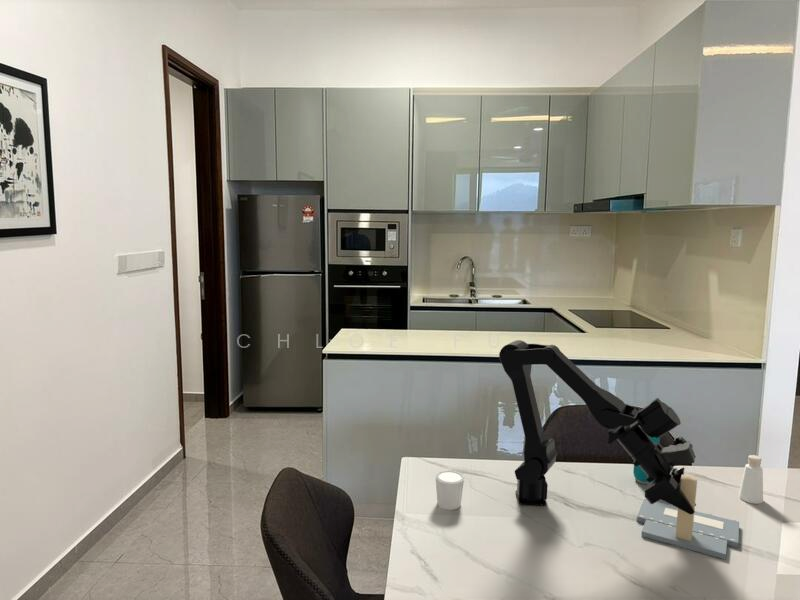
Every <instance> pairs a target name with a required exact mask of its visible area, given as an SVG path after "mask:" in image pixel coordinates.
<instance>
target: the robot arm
mask: <svg viewBox="0 0 800 600" xmlns="http://www.w3.org/2000/svg"><path fill="white" fill-rule="evenodd" d="M498 355H499V357H498V358H499V361H500V363H501V366H502V369H503V371H504V372H505V374H506V376H507V377H508V378H509V379H510V381H511V383H512V388H513V391H514V396H515V400H516V406H517V408H518V412H519V416H520V421H521V425H522V430H523V434H524V446H523V460H524V461H522V463H521V464H520V465H519V466H518V467H517V468H516V469H515V470H514V474H515V475H514V476H515V478H516V480H517V481H516V482H517V483H516V486H517V487H516V490H515V497H516V499H517V502H518V505H520V506H521V505H524V506H525V505H526V506H547V502H546V500H548V482H547V480H546V476H545V475H546V474H547V473H548V471H550V469H551V468H552V467H553V466H554V464H555V463H556V459H557V455H558V454H559V452H558V450H557V448H556V443H555V439H554V438H548V436H547V435H546V434H545V432H544V429H543V424H542V419H541V416H540V412H539V407H538V403H537V399H536V395H535V390H534V385H533V381H532V376H531V373H532V366H533V365H540V364H541V365H546V366H547V367H548V368H550V370H551V371H552V372H554V373H555V374H556V375H557V376H558V377H559V379H561V381H563V382H564V383H565V384H566V385H567V386H568V387H569V388H570V389H571V390H572V391H573V392H574V393H575V394H577V395H578V397H580V398H581V399H582V401H583V402H584V404H585V405H586V407H587V409H588V411H589V414H590V415H591V416H592V417H593V418H594V420H595V421H596V422H597V424H598V425H599V426H600V427H602V428H603V429H607V430H608V429H609V430H608V431H607V435H608V438H607V444H608V445H611V444H613V443H614V442H616V441H618V442H619V444H620V446H622V447H623V449H624V450H625V451H626V453H628V455H629V456H630V457H631V458H632V460H633V462H632V464H633V466H634V465H635V466H636V467H637V466H638V465H639V466H640V468H641V469H642V470H643V471H644V472H645V474H646V475H647V478H646V480H647V481H648V482H649V484H646V488H645V490H644V497H645V498H644V499H647V500H648V501H649V503H650V504H654V503H655V502H659V501H660V500H661V501H663V502H665V503H666V504H667V503H668V505H672V506H675V507H677V508H679V509H681V510H683V511H685V512H687V513H689V514H693V513H694V512H695V511H696V510H695V511H694V509H693V507H692V506H691V504H690V503H689V501H688V500H687V498H686V497H685V495H684V494H683V492H682V491H681V476H682V474H683V475H685V467H684V466H683V467H682V468H680V469H678V468H677V466H682V465H687V466H689V465H692V464H694V463H695V461H696V457H697V456H696V453H695V451H694V449H693V444H692V443H691V442H690V441H688V440H686V439H685V438H684V437H683V436H677V437H674V440H673V444H669V446H666V447H664V446H663V445H662V443H659V444H658V442H657V443H654V442H653V441H652V440H651V439H650V438H649V436H650V437H652V438H653V437H656V438H660V439H661V437H663V436H664V435H666V434H667V433H669V432H671V431H672V430H674V429H675V428H676V427H678V426H680V425H681V423H682V422H681V419H680V417H679V416H678V414H677V412H675V410H674V409H673V408H672V407H671V406H669V405H668V404H666V403H665V402H663V401H661V399H660V398H659V397H656V398H655V399H654V400H652V401H651V402H650V403H649V404H648V405H646V406H645V407H644V408H639V407H636V406H633V405H630V404H627V403H625V402H624V401H623V400H622V399H620V398H619V397H617V396H616V395H615V394H614V393H612V392H610V391H608V390H606V389H604V388H602V387H600V386H598V385H597V384H596V383H595V382H594V381H593V380H592V379H591V378H590V377H588V375H586V374H585V373H584V372H583V370H581V369H580V368H579V367H578V366H577V365H576V364H575V363H574V362H572V360H570V359H569V357H567V356H566V355H565V354H564V353H563V352H562V351H561V350H560V348H559V347H558V346H557V345H555V344H539V343H527V342H525V341H524V340H521V339H520V340H519V339H518V340H517V339H516V340H514V341H512V342H510V343H508V344H505V345H504V346H503V347H501V349H500V351H499V353H498ZM653 480H654V481H653ZM652 481H653V482H652ZM650 482H651V483H650ZM696 506H697V503H696V502H695V507H696Z"/></svg>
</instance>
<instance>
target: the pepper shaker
mask: <svg viewBox="0 0 800 600" xmlns="http://www.w3.org/2000/svg"><path fill="white" fill-rule="evenodd" d="M747 458H748V460H747V461H748V462H747V463H746V464H745V465H744V470H743V472H742V473H743V474H742V478H741V481H740V487H739V489H738V490H739V491H738V498H739V499H740V500H742V501H744V502H746V503H748V504H755V505H759V504H762V503H764V471H763V468H762V466H761V465H762V457H760V456H759V455H756V454H749V455H748V457H747Z"/></svg>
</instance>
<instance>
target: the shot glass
mask: <svg viewBox="0 0 800 600" xmlns="http://www.w3.org/2000/svg"><path fill="white" fill-rule="evenodd" d="M464 483H465V476H464V474H462V473H460V472H458V471H454V470H442V471H439V472H438V473H436V475H435V488H436V501H437V504H436V505H438V507H439V508H440V509H444V510H448V511H452V510H457V509H459V508H460V507H461V506H462V500H463V499H462V498H463V489H464Z"/></svg>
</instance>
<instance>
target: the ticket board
mask: <svg viewBox="0 0 800 600" xmlns="http://www.w3.org/2000/svg"><path fill="white" fill-rule="evenodd" d="M677 513H678V508H677V507H675V506H673V505H671V504H669V503H668V504H667V503H664V502H659V501H657V502H655V503H654V504H650V503H649V501H648V500H647V499H646V498H644V499H643V501H642V503H641V505H640V508H639V511H638V513H637V515H636V522H638V523H643V524H645V521H646V519H647V520H651V521H655V522H658V523H662V524H666V525H670V526H674V527H676V525H677ZM693 532H696V533H700V534H704V535H708V536H712V537H716V538H719V539H723V540H727V547H732V548H737V549H738V548H739V536H740V535H739V534H740V521H736V520H733V519H730V518H724V517H722V516H716V515H712V514H709V513H704V512H701V511H697V510H695V512H694V522H693Z"/></svg>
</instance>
